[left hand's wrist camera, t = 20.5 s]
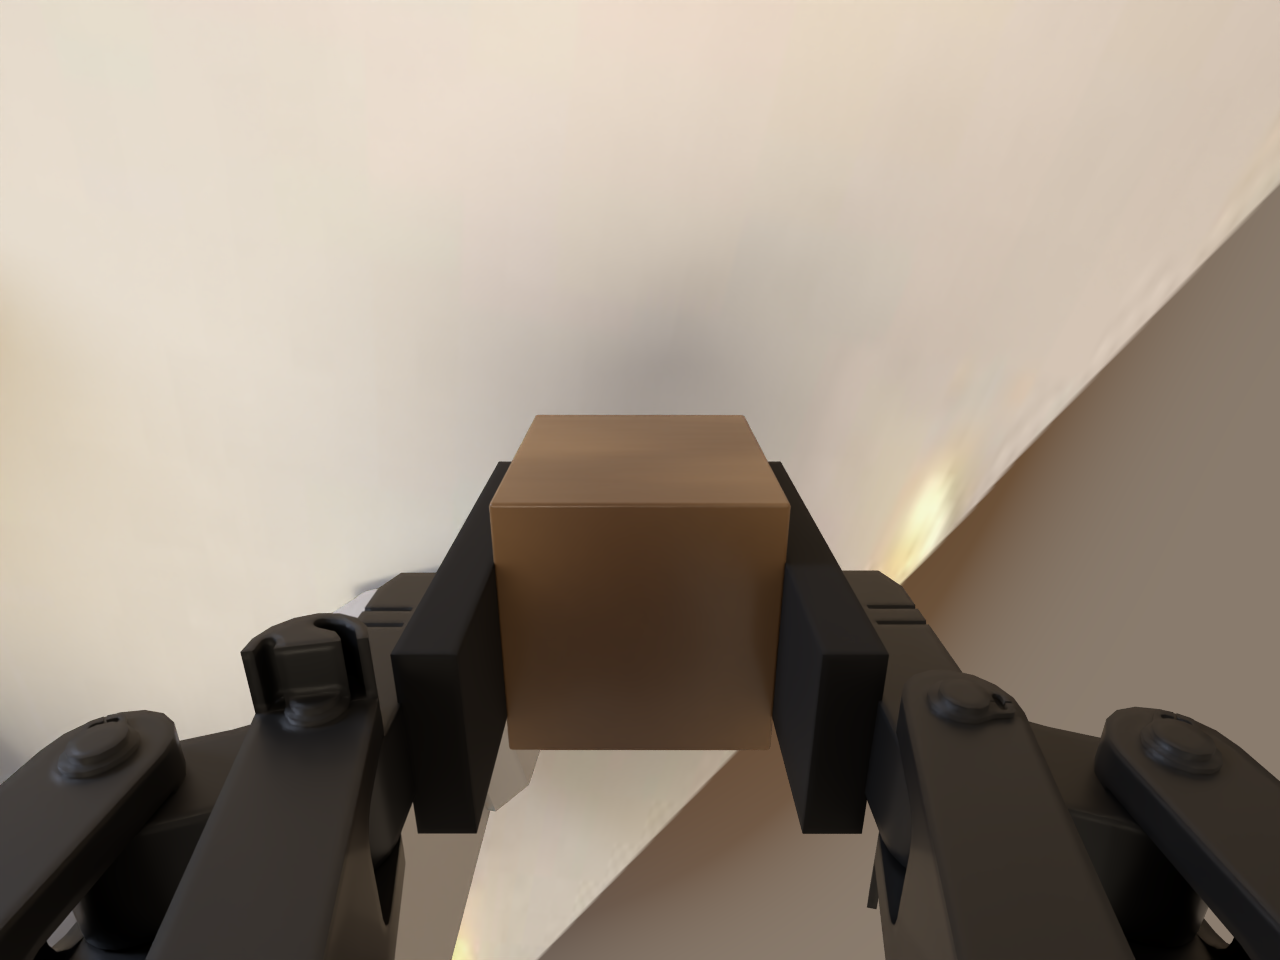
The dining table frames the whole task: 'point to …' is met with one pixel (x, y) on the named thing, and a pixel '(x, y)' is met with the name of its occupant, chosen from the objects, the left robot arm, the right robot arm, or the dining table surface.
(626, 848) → the dining table surface
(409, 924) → the electronic device
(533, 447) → the block
